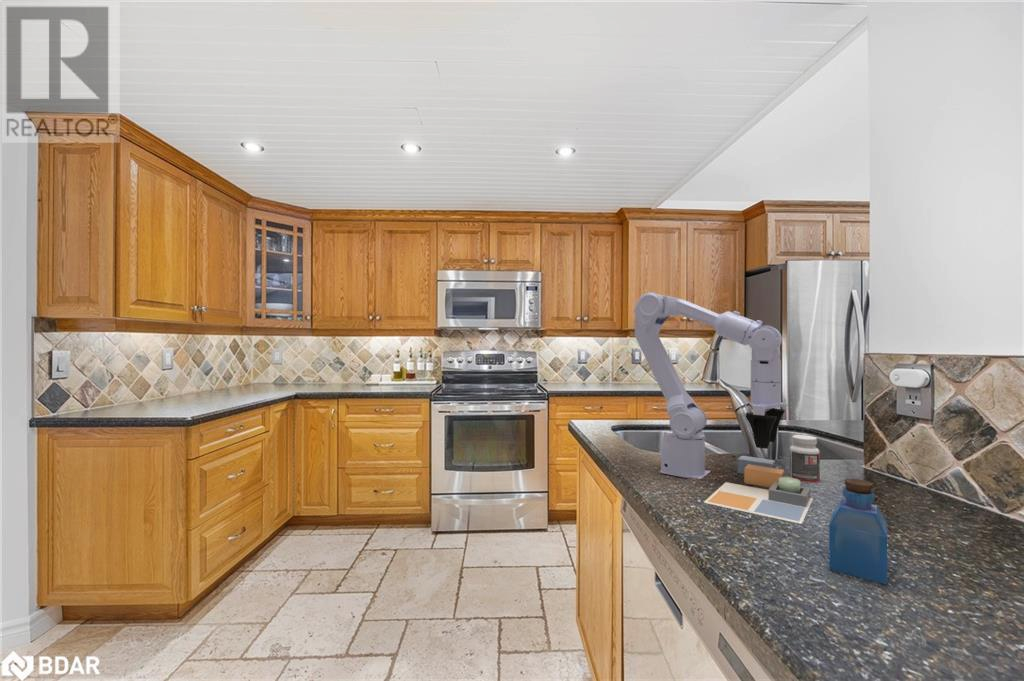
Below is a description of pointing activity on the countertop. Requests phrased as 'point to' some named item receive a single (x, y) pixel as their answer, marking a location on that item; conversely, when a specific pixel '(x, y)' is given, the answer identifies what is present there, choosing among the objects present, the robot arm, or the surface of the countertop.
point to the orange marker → (762, 475)
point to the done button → (789, 484)
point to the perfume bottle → (858, 534)
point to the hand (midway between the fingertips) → (765, 444)
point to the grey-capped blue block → (755, 463)
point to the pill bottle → (805, 459)
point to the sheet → (756, 502)
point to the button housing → (789, 496)
